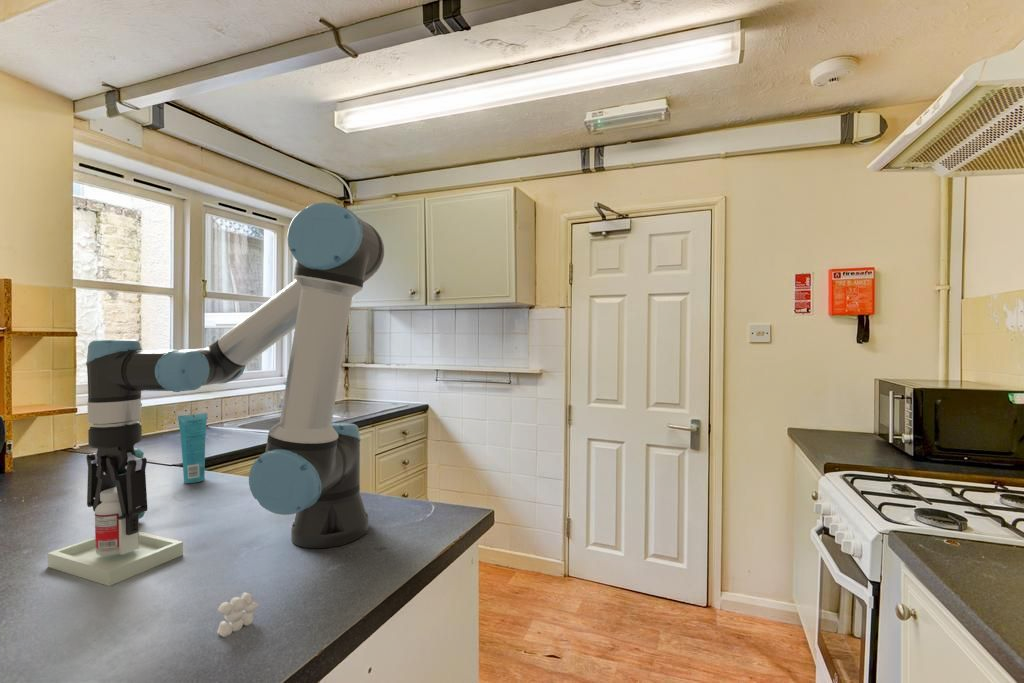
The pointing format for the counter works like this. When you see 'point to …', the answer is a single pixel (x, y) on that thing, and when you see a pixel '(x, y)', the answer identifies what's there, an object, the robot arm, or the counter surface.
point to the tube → (193, 446)
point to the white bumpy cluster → (236, 614)
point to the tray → (114, 559)
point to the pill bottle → (108, 523)
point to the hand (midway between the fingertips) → (117, 547)
